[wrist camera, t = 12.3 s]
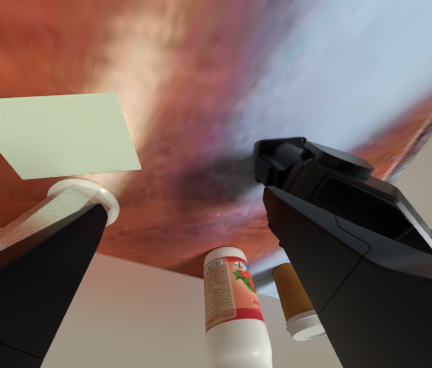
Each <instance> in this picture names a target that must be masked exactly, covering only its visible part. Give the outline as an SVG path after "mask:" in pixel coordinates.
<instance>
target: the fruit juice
mask: <svg viewBox="0 0 432 368" xmlns="http://www.w3.org/2000/svg"><path fill="white" fill-rule="evenodd" d="M204 294H205V324H206V349H207V359H208V364H209V367H210V368H273V366H272V350H271V344H270V340H269V336H268V332H267V328H266V325H265V322H264V318H263V315H262V311H261V308H260V305H259V301H258V297H257V294H256V291H255V287H254V284H253V280H252V277H251V273H250V270H249V266H248V263H247V260H246V257H245V255H244V253H243V252H242V251H241V250H240V249H238V248H235V247H220V248H217V249H215V250H213V251H211V252H209V253H208V254H207V255H206V257H205V259H204Z"/></svg>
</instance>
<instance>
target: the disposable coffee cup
mask: <svg viewBox="0 0 432 368" xmlns="http://www.w3.org/2000/svg"><path fill="white" fill-rule="evenodd" d="M272 274H273V277H274V280H275V284H276V287H277V291H278V294H279V298H280V301H281V305H282V308H283V311H284V315H285V319H286V325H287V331H288V332H289V333H290V334H291V336H292V338H293V339H294V340H300V341H301V340H309V339H314V338H318V337H321V336H324V335H327V334H326V332H325V330H324V328H323V326H322V324H321V322H320V320H319V318H318V315H317V314H316V312H315V310H314V308H313V306H312V304H311V302H310V300H309V298H308V296H307V294H306V292H305V290H304V288H303V286H302V284H301V282H300V280H299V278H298V276H297V274H296V272H295V270H294V268H293V266H292V264H291V263H285V264H282V265H279V266H277V267H276V268H275V269H274V270H273V272H272Z"/></svg>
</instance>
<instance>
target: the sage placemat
mask: <svg viewBox="0 0 432 368" xmlns="http://www.w3.org/2000/svg"><path fill="white" fill-rule="evenodd" d="M0 153H1V154H2V155H3V156H4V158H5V159H6V160H7V161H8V163H9V164H10V165H11V166H12V167H13V169H14V170H15V171H16V172H17V173H18V175H19V176H20V177H21V178H22V179H23V180H25V179H36V178H48V177H59V176H71V175H83V174H94V173H106V172H118V171H129V170H141V169H142V168H141V165H140V162H139V159H138V156H137V153H136V150H135V147H134V144H133V141H132V138H131V135H130V132H129V129H128V126H127V123H126V120H125V117H124V114H123V111H122V108H121V105H120V103H119V100H118V97H117V94H116V92H113V93H94V94H76V95H57V96H39V97H20V98H2V99H0Z"/></svg>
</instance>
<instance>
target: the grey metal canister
mask: <svg viewBox="0 0 432 368" xmlns="http://www.w3.org/2000/svg"><path fill="white" fill-rule="evenodd" d="M92 203H101V204H102V205H103V206H104V208H105V210H106V212H107V214H108V220H107V223H106V225H107V224H108V222H109V221H110V219H111V214H112V209H113V205H112V204H111V203H110V202H109V201H108V200H107V199H106V198H105V196H104V195H103V194H102V193H101V192H100V191H99V190H95V189H91V188H88V187H84V186H80V185H76V184H72V185H70V186H67V187H65V188H62V189H60V190H57V191H55V192H54V193H52V194H51V195H49V196H48V197H47V198H45V199H44V200H42V201H41V202H39V203H38V204H37V205H35V206H34V207H32V208H31V209H30V210H28V211H27V212H25V213H24V214H22V215H21V216H20V217H18V218H17V219H15V220H14V221H12V222H11V223H10V224H8V225H7V226H5V227H4V228H3V229H1V230H0V251H1V250H3V249H5V248H7V247H9V246H11V245H13V244H15V243H17V242H18V241H20V240H22V239H24V238H26V237H28V236H30V235H32V234H34V233H36V232H38V231H40V230H42V229H44V228H45V227H47V226H49V225H51V224H53V223H55V222H57V221H59V220H61V219H63V218H65V217H67V216H69V215H71V214H72V213H74V212H76V211H78V210H80V209H82V208H84V207H86V206H88V205H90V204H92Z"/></svg>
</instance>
